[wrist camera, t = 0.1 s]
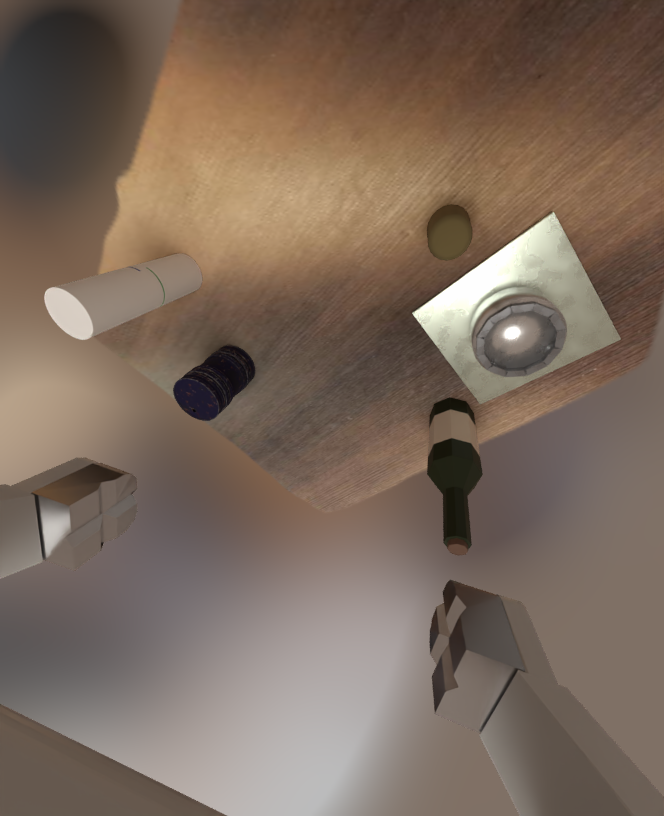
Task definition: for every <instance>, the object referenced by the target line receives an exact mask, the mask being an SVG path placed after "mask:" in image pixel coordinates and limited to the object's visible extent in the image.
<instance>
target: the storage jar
mask: <svg viewBox="0 0 664 816" xmlns="http://www.w3.org/2000/svg"><path fill="white" fill-rule="evenodd" d="M254 375H255V366H254V363H253V361H252V359H251V358H250V356H249V355H248V354H247V353H246V352H245V351H244V350H242V349H241V348H239V347H236V346H232V345H228V346H224V347H222V348H221V349H219V350H218V351H216V352H214V353H213V354H212V355H211V356H210V357H208V358H207V359H206V360H205V362H204V363H203V364H201V365H200V366H197V367H195V368H193V369H192V370H191V371H189V372H188V373H187V374H185V375H184V376H183V377H182V378H181V379H179V380H178V381H177V382H176V383H175V385H174V388H173V392H174V397H175V399H176V401H177V403H178V404H179V406H180V407H181V408H182V409H183V410H184V411H185V412H186V413H187V414H189V415H190V416H192V417H194V418H196V419H199V420H202V421H210V420H213V419H214V418H216V417H217V416H218V414H219V413H220V412H222V411H223V410H224V409H225V408H226V407H227V406H228V405H229V404H230V402H231V401H232V399H233V397H234V396H235V395H236V394H238V393H239V392H241V391H242V390H243V389H244V388H245V387H246V386H247V385H248V383H249V382H250V381H251V380H252V379H253V377H254Z"/></svg>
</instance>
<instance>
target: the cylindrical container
mask: <svg viewBox="0 0 664 816" xmlns="http://www.w3.org/2000/svg"><path fill="white" fill-rule="evenodd" d="M201 284H202V274H201V270H200V268H199V266H198V264H197V263H196V262H195V261H194V260H193V259H192V258H191V257H190V256H188V255H186V254H183V253H178V254H174V255H170V256H166V257H163V258H159V259H155V260H151V261H148V262H144V263H140V264H137V265H133V266H129V267H126V268H122V269H118V270H115V271H111V272H107V273H104V274H100V275H96V276H92V277H89V278H85V279H81V280H78V281H74V282H71V283H67V284H63V285H60V286H56V287H52V288H49V289H48V290H47V291H46V292H45V304H46V307H47V310H48V312H49V314H50V315H51V317H52V318H53V320H54V321H55V322H56V324H57V325H58V326H59V327H60V328H61V329H63V330H64V331H65V332H66V333H68V334H69V335H71V336H72V337H75V338H77V339H82V340H85V339H89V338H91V337H93V336H95V335H98V334H100V333H102V332H104V331H107V330H109V329H111V328H113V327H116V326H118V325H120V324H122V323H125V322H127V321H129V320H131V319H134V318H136V317H138V316H140V315H143V314H145V313H147V312H150V311H152V310H154V309H156V308H158V307H161V306H163V305H165V304H167V303H170V302H172V301H174V300H176V299H179V298H181V297H183V296H185V295H188V294H190V293H192V292H194V291H196V290H198V289H199V288H200V287H201Z"/></svg>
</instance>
